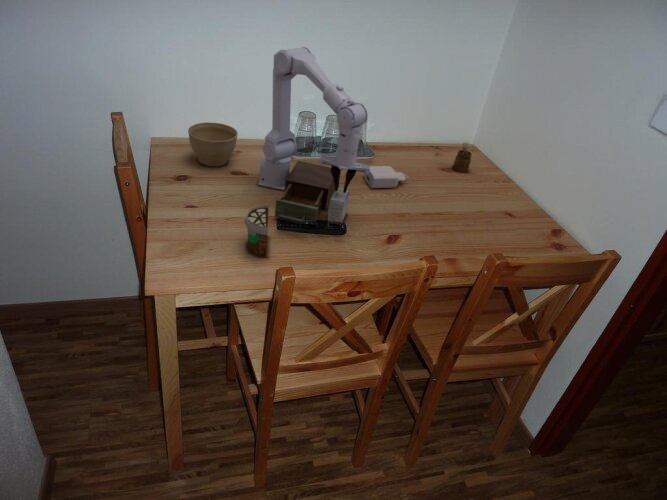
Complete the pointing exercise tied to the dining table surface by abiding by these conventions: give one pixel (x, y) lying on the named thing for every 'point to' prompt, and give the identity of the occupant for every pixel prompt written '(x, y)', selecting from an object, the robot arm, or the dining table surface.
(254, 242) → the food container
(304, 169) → the cabinet
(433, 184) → the dining table surface
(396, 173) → the charger
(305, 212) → the drawer
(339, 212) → the medicine box
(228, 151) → the planter bowl
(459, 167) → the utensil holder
